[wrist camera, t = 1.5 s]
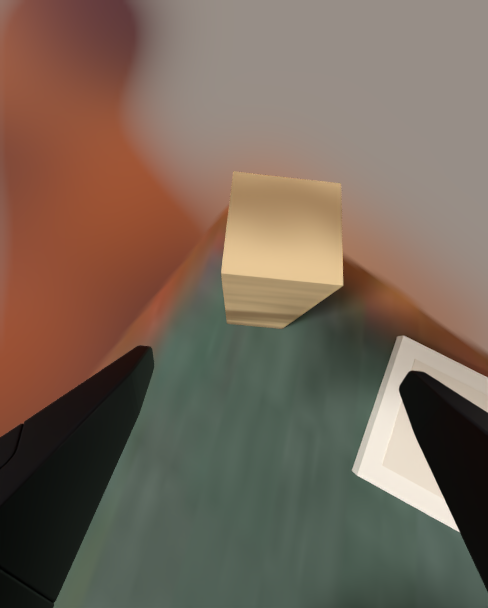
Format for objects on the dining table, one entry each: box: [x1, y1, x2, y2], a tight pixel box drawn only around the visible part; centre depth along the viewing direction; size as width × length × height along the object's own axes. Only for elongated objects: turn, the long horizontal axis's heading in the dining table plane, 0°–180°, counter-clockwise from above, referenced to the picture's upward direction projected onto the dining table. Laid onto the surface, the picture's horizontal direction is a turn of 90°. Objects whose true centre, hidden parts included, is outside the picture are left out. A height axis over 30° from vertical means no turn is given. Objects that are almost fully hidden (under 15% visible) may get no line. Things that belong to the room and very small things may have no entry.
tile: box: [352, 335, 488, 532], centre depth 19 cm, size 12×12×1 cm
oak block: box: [221, 172, 343, 329], centre depth 16 cm, size 5×5×12 cm
